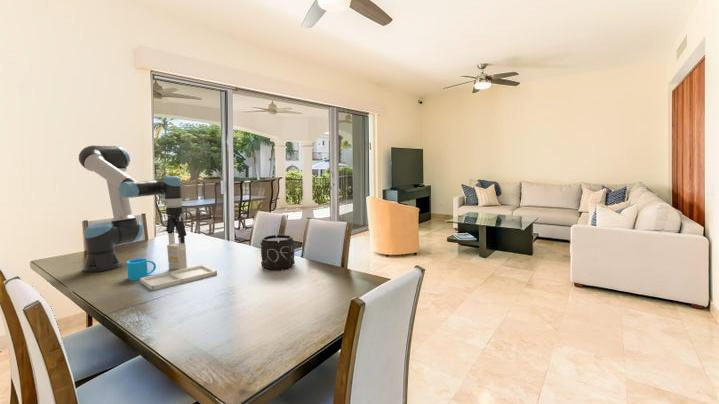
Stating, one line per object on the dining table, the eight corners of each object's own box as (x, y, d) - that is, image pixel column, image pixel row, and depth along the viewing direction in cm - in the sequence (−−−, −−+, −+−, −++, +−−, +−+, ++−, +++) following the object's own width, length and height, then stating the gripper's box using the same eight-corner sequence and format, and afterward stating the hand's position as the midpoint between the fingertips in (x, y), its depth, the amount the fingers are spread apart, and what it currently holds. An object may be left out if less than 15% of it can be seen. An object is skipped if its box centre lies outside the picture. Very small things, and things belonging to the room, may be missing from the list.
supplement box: (187, 269, 183) (186, 244, 181) (179, 271, 178) (177, 246, 177) (176, 267, 186) (175, 242, 185) (168, 269, 182) (166, 244, 180)
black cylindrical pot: (284, 273, 175) (283, 242, 173) (254, 269, 181) (253, 240, 179) (301, 263, 192) (301, 235, 190) (273, 260, 198) (272, 233, 196)
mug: (129, 281, 164) (128, 264, 163) (126, 277, 170) (125, 260, 169) (158, 275, 172) (157, 259, 171) (154, 271, 178) (153, 256, 177)
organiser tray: (140, 282, 162) (139, 278, 162) (203, 268, 184) (202, 264, 183) (151, 290, 152) (151, 286, 151) (217, 274, 173) (216, 270, 173)
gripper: (157, 205, 184) (160, 245, 186) (175, 209, 167) (178, 252, 169) (172, 204, 190) (175, 242, 192) (191, 207, 173) (194, 249, 175)
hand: (177, 247), depth 181 cm, fingers open, 13 cm apart
